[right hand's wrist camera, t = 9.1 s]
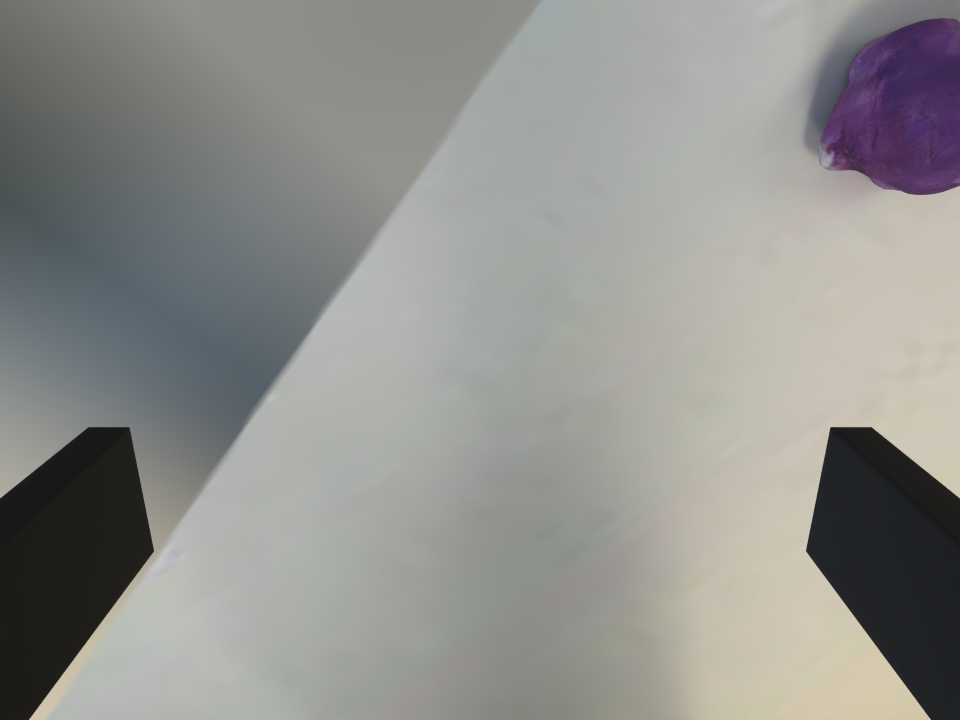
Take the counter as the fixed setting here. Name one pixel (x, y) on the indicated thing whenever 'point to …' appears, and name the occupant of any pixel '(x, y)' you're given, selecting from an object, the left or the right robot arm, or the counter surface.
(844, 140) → the figurine
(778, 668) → the counter surface
